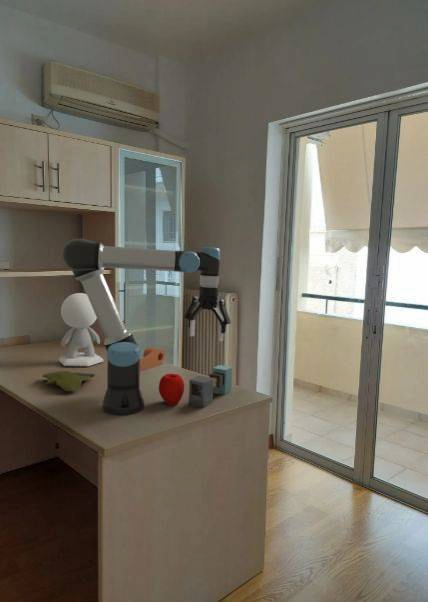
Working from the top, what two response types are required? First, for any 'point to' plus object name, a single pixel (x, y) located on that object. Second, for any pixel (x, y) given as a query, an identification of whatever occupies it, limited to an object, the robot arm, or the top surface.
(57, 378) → the toy airplane
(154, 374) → the top surface
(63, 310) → the big headed doll
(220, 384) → the collared tan post
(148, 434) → the top surface
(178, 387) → the apple
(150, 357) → the crank
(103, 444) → the top surface
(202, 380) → the sleeve
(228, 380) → the socket block
